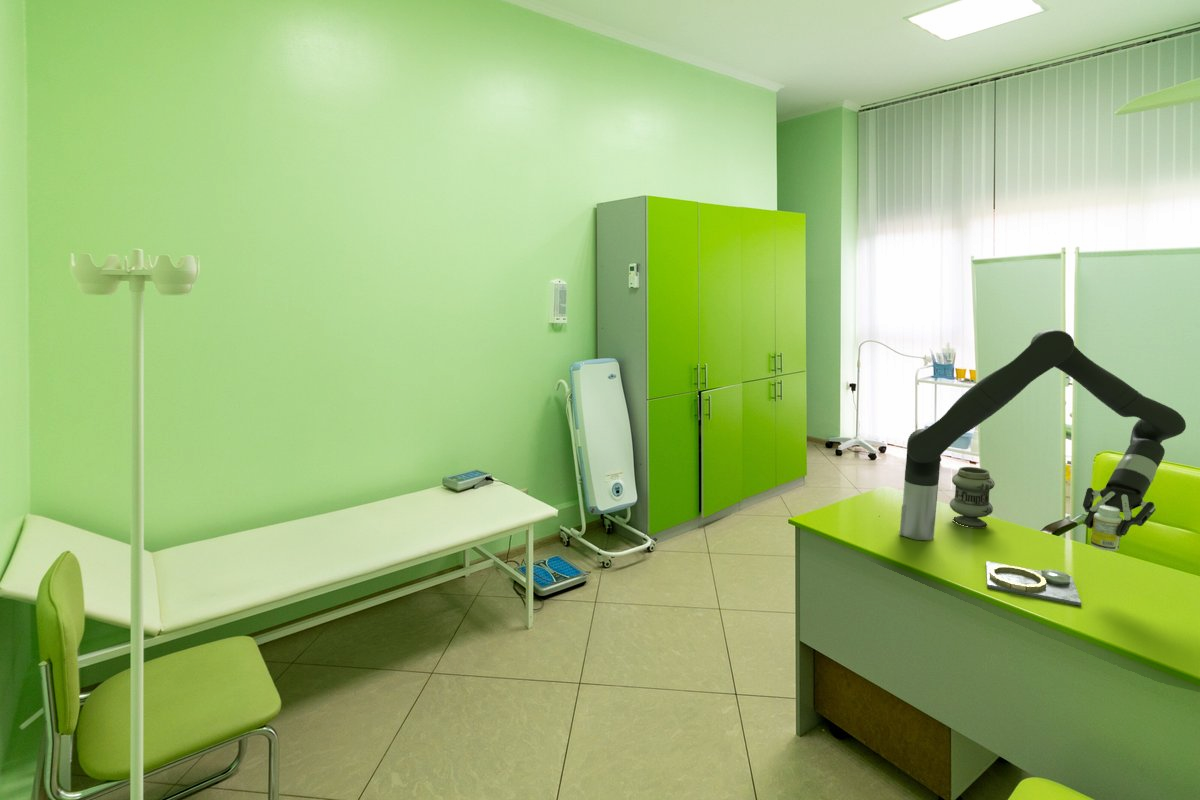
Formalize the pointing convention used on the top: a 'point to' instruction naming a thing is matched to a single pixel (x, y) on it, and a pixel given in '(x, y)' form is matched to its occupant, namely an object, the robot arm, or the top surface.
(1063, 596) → the carrier plate
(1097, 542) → the supplement bottle
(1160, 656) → the top surface
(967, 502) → the apothecary jar
